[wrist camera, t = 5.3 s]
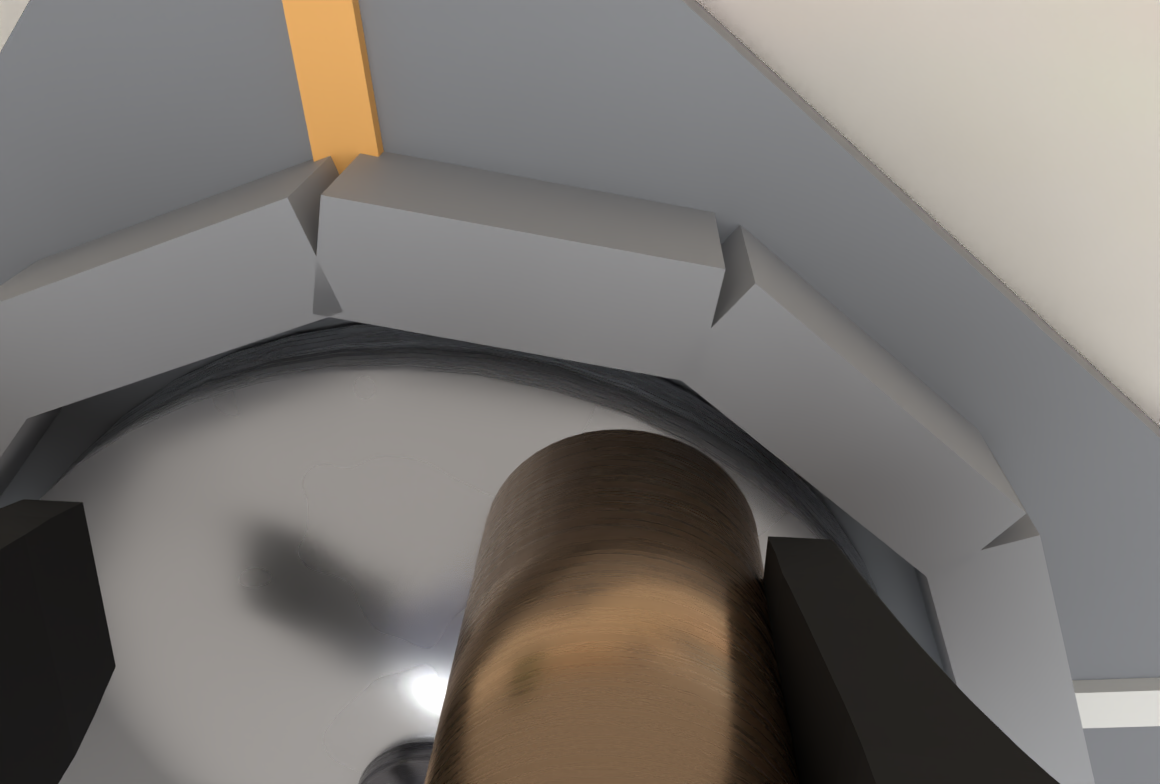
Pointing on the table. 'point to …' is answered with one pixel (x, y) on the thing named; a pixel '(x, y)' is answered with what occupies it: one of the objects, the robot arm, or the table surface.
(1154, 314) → the table surface
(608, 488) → the dial
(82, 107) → the dial plate
